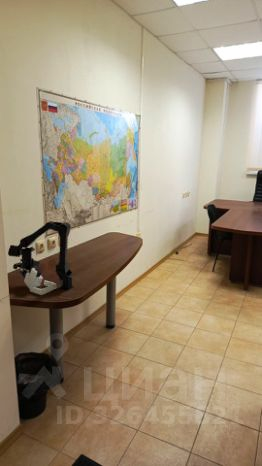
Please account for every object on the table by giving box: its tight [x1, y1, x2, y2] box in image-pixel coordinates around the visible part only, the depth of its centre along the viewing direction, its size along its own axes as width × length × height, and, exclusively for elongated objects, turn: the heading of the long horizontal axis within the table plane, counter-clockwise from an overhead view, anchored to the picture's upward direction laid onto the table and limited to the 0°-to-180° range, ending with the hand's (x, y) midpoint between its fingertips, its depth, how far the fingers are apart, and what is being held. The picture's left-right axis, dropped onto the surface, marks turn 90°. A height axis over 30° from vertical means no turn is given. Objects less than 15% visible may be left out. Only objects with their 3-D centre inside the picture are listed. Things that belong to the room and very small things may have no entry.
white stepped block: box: [23, 266, 44, 290], centre depth 186 cm, size 7×7×12 cm
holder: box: [29, 279, 57, 296], centre depth 184 cm, size 9×12×3 cm
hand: (27, 281), depth 191 cm, fingers closed, pressing on white stepped block
